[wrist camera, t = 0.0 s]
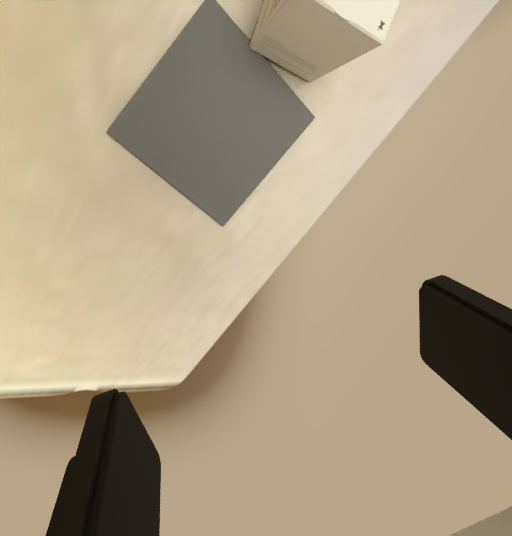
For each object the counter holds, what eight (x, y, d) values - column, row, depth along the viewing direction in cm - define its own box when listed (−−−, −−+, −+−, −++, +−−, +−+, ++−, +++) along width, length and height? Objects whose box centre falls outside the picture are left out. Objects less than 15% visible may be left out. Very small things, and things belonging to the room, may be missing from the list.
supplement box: (339, 8, 40) (434, -69, 26) (310, 84, 42) (385, 48, 28) (274, -37, 36) (344, -153, 23) (246, 47, 38) (295, -14, 25)
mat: (107, 132, 39) (106, 132, 38) (209, -5, 36) (209, -7, 36) (222, 225, 46) (223, 226, 46) (313, 117, 44) (315, 117, 43)
